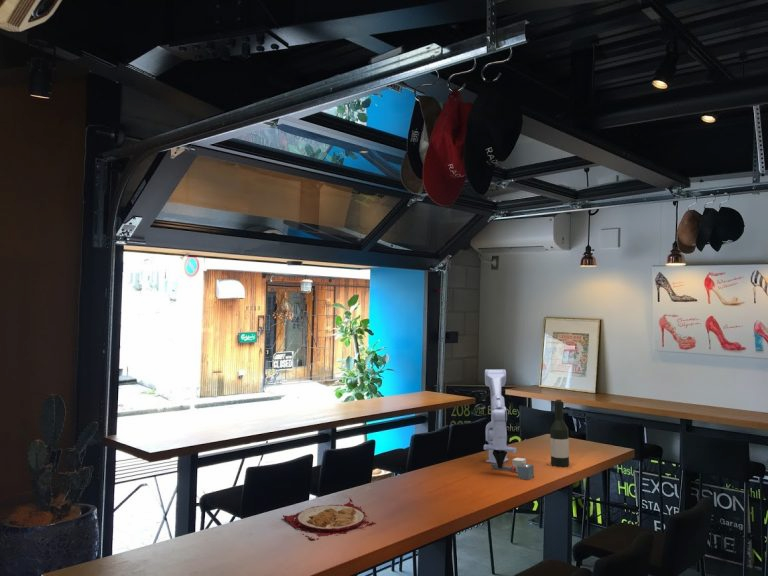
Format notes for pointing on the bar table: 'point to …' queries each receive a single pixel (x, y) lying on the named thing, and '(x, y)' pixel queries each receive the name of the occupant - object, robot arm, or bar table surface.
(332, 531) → the plate with food
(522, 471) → the gauge cabinet
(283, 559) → the bar table surface
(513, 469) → the plunger
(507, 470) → the rail
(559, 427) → the wine bottle
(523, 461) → the carriage
